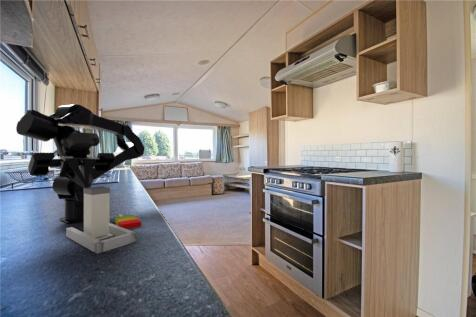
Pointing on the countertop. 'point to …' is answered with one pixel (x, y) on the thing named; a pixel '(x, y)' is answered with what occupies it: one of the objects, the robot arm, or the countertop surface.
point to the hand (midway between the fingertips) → (86, 187)
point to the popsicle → (127, 221)
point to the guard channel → (101, 246)
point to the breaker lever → (96, 211)
